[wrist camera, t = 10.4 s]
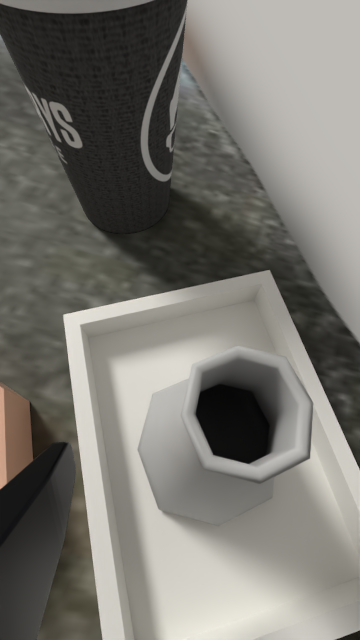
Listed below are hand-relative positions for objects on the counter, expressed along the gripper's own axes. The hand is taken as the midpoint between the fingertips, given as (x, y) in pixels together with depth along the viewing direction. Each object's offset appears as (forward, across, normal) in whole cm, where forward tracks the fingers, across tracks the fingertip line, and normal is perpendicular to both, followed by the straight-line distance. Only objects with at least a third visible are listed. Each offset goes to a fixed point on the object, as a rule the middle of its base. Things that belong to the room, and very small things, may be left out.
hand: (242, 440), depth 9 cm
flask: (+7, 0, +6) cm, 9 cm away
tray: (+7, 0, +6) cm, 9 cm away
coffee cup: (+20, +4, -6) cm, 21 cm away
